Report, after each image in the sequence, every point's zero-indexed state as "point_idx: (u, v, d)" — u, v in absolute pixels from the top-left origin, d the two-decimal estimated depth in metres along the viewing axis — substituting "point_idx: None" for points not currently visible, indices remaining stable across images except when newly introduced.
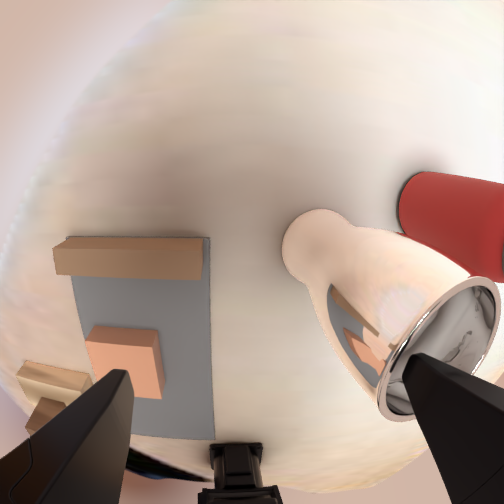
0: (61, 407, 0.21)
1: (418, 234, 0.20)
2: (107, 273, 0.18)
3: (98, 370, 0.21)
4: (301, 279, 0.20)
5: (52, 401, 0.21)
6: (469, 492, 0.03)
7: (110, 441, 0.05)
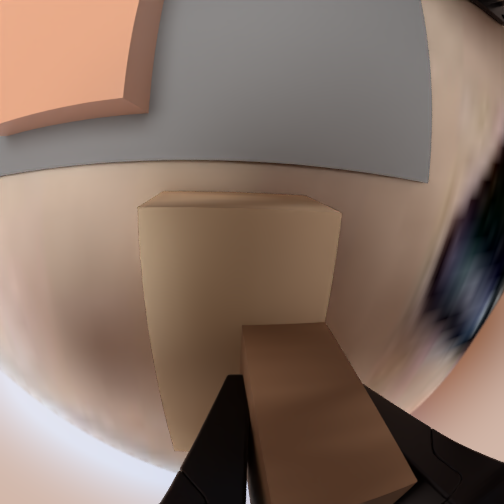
0: (245, 346, 0.06)
1: None
2: None
3: (31, 95, 0.05)
4: None
5: None
6: None
7: None
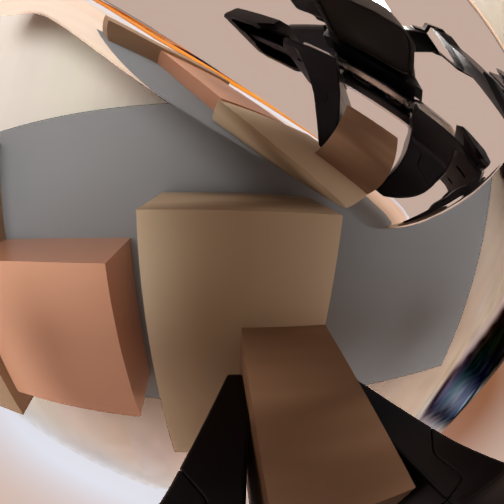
0: (245, 349, 0.06)
1: None
2: None
3: (70, 397, 0.08)
4: None
5: None
6: None
7: None
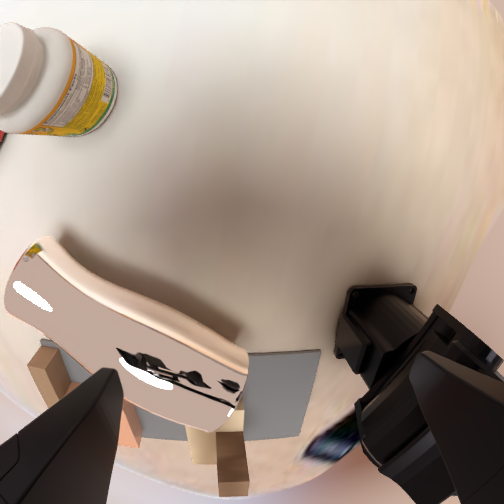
0: (216, 439, 0.19)
1: None
2: None
3: None
4: None
5: (216, 443, 0.20)
6: (477, 487, 0.04)
7: (97, 439, 0.05)
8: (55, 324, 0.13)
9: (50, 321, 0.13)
